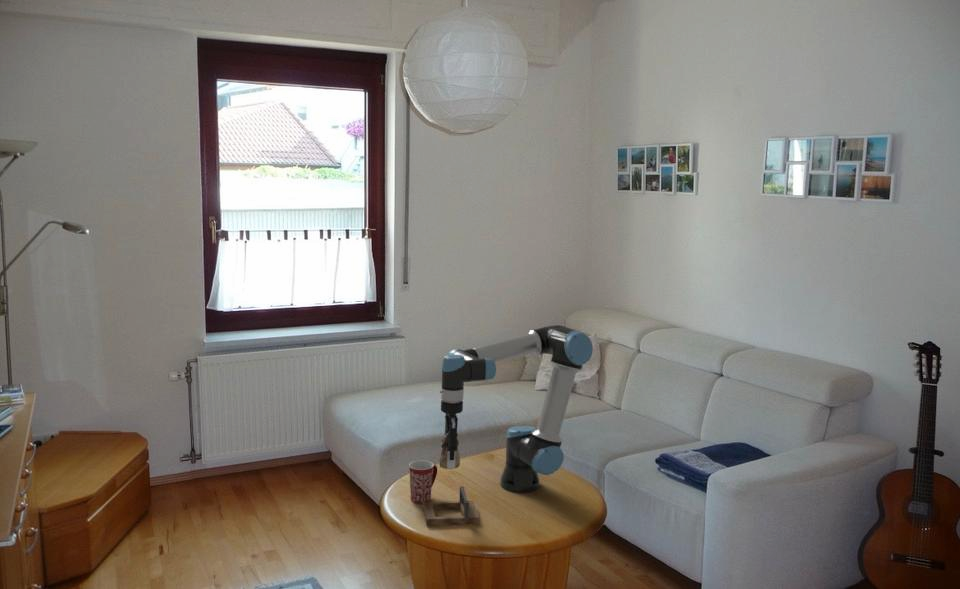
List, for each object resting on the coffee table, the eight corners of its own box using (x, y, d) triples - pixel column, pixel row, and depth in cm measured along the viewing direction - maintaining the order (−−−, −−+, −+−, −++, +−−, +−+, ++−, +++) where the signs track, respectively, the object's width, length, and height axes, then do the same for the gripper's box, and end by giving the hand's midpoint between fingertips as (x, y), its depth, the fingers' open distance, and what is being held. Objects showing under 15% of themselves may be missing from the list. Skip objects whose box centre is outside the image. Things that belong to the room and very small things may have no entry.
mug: (420, 507, 286) (421, 471, 284) (403, 499, 292) (403, 464, 289) (444, 497, 295) (445, 462, 293) (427, 490, 301) (428, 455, 299)
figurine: (446, 460, 281) (447, 427, 279) (463, 464, 277) (465, 431, 275) (435, 466, 275) (436, 433, 273) (452, 470, 271) (454, 437, 269)
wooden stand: (473, 507, 287) (473, 486, 286) (478, 524, 274) (479, 502, 272) (423, 508, 284) (423, 487, 283) (426, 526, 271) (427, 503, 270)
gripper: (438, 391, 281) (436, 454, 285) (444, 408, 262) (441, 475, 266) (459, 391, 283) (456, 453, 286) (466, 408, 263) (464, 474, 267)
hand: (449, 463), depth 276 cm, fingers closed on figurine, 7 cm apart
